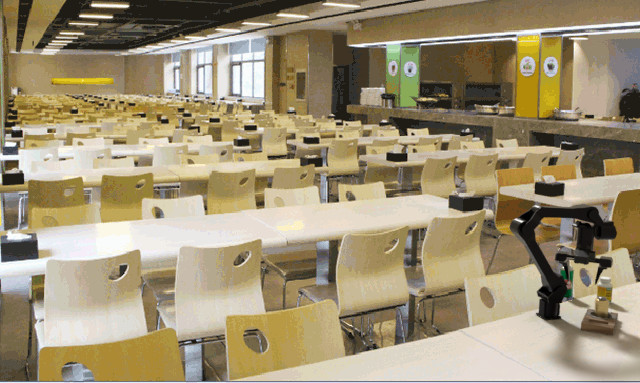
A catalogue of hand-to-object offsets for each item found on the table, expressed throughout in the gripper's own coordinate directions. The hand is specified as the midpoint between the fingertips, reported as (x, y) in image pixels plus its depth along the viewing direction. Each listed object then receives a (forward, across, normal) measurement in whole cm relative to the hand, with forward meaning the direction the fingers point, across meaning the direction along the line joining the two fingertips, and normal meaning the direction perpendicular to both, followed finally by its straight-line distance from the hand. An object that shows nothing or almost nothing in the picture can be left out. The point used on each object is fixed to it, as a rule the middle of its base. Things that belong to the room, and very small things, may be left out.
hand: (581, 282), depth 232 cm
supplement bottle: (+12, +6, +22) cm, 26 cm away
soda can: (+12, -8, +22) cm, 27 cm away
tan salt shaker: (+12, +8, -3) cm, 15 cm away
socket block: (+12, +8, -7) cm, 16 cm away
